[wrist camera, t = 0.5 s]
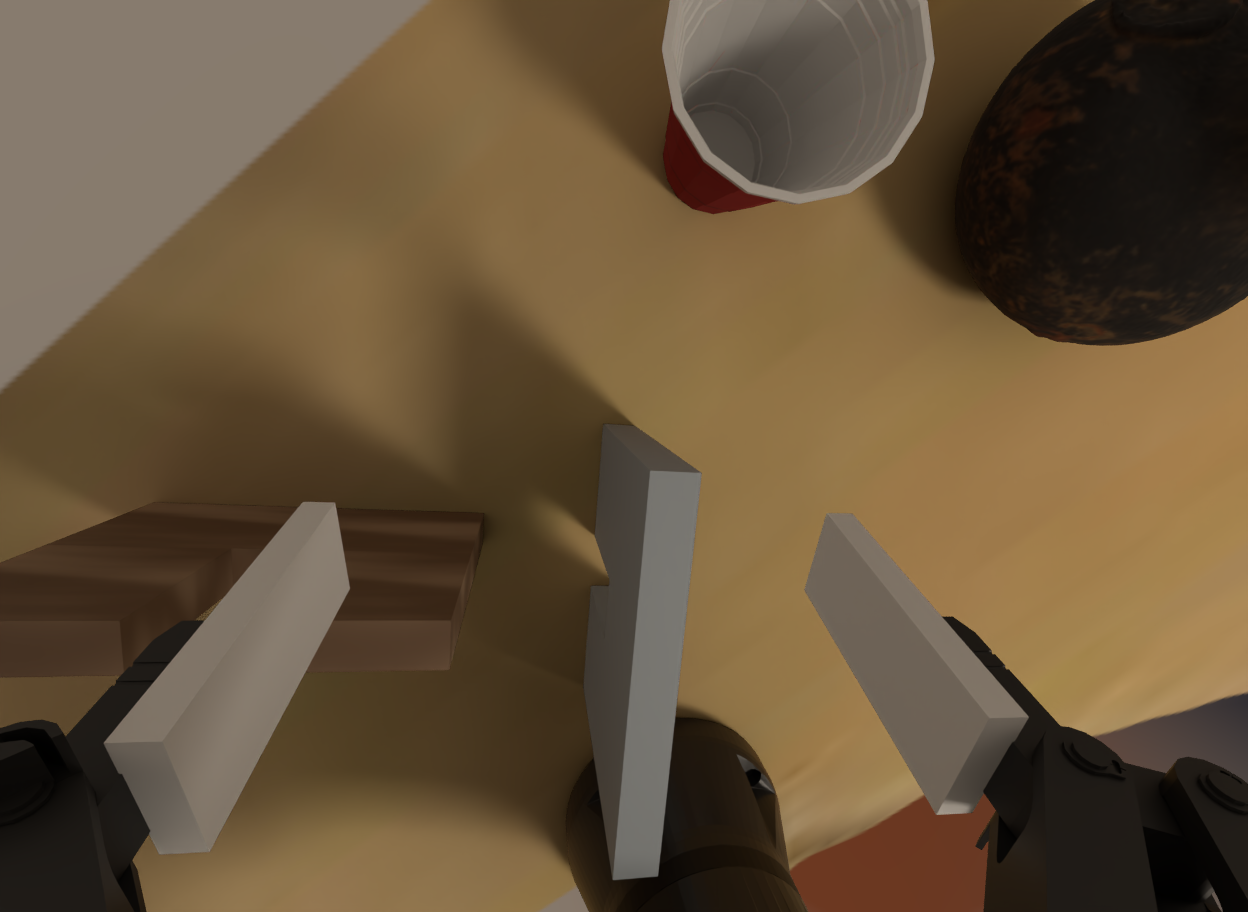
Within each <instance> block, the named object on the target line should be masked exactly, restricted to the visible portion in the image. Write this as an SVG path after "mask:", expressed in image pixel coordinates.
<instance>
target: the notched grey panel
mask: <svg viewBox="0 0 1248 912" xmlns="http://www.w3.org/2000/svg"><path fill="white" fill-rule="evenodd" d="M701 474H702V473H701V472H699V471H698V470H697V469H695V468H694V467H692V466H691V465H690V464H688V463H687V462H685V461H684V460H682V459H681V458H680V457H678V456H677V455H675V454H674V453H673V452H671V451H670V450H668V449H667V448H666V447H664V446H663V445H661V444H660V443H658V442H657V441H656V440H654V439H653V438H651V437H650V436H649V435H647V434H646V433H644V432H643V431H642V430H640V429H639V428H637V427H636V426H631V425H615V424H603V433H602V447H601V460H600V473H599V486H598V499H597V513H596V526H595V538H596V541H597V544H598V547H599V550H600V553H601V556H602V559H603V562H604V565H605V568H606V571H607V574H608V577H609V580H610V581H609V586H591V592H590V605H589V619H588V632H587V645H586V658H585V671H584V685H583V688H584V695H585V701H586V708H587V715H588V721H589V728H590V734H591V741H592V747H593V754H594V761H595V767H596V774H597V780H598V787H599V794H600V800H601V807H602V813H603V820H604V826H605V833H606V840H607V846H608V853H609V859H610V866H611V873H612V879H613V880H621V879H633V878H644V877H656V876H658V871H659V862H660V853H661V843H662V834H663V825H664V816H665V807H666V797H667V788H668V779H669V770H670V760H671V751H672V742H673V733H674V723H675V714H676V705H677V696H678V687H679V677H680V668H681V659H682V650H683V640H684V631H685V622H686V613H687V603H688V594H689V585H690V576H691V566H692V557H693V548H694V539H695V530H696V520H697V511H698V502H699V493H700V483H701Z"/></svg>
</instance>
